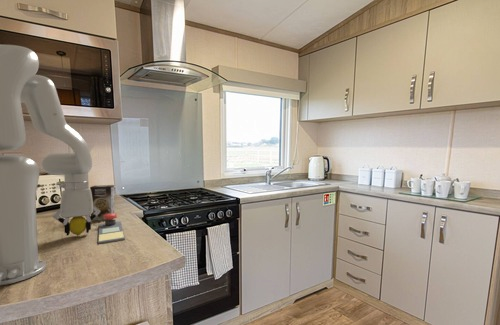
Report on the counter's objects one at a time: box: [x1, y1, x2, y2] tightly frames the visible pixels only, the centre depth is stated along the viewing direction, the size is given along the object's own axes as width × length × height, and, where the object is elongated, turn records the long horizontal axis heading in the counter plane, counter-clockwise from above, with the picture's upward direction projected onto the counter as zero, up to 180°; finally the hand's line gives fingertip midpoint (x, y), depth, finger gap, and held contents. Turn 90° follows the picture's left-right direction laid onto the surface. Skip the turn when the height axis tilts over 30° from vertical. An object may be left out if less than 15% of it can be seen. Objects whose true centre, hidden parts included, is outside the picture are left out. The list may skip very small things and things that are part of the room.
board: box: [97, 218, 126, 245], centre depth 101 cm, size 26×8×2 cm, turn 30°
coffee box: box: [89, 184, 116, 222], centre depth 121 cm, size 9×6×16 cm
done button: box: [104, 212, 118, 221], centre depth 109 cm, size 5×5×2 cm
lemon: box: [69, 216, 87, 236], centre depth 96 cm, size 6×6×8 cm
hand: (78, 232), depth 96 cm, fingers closed on lemon, 5 cm apart
